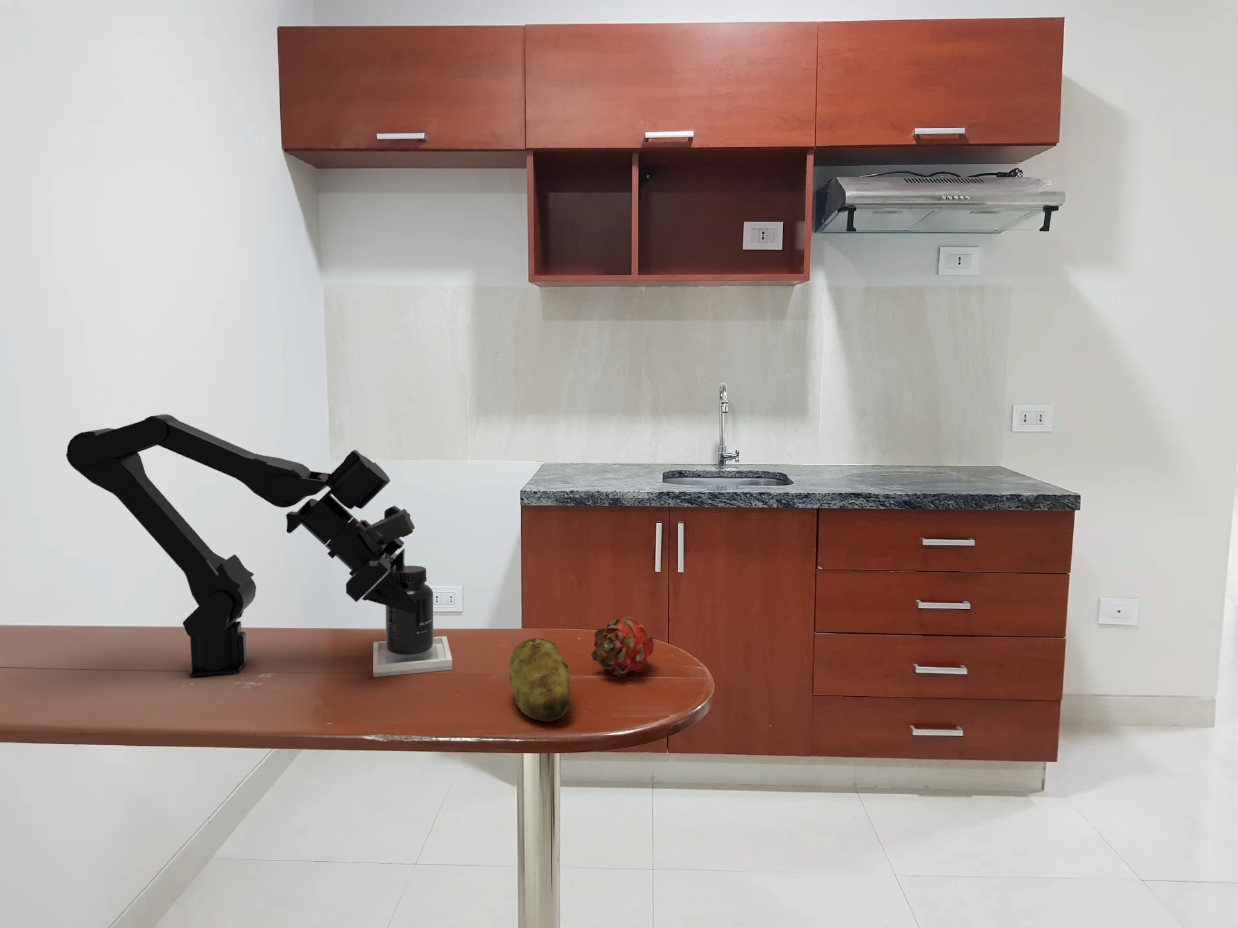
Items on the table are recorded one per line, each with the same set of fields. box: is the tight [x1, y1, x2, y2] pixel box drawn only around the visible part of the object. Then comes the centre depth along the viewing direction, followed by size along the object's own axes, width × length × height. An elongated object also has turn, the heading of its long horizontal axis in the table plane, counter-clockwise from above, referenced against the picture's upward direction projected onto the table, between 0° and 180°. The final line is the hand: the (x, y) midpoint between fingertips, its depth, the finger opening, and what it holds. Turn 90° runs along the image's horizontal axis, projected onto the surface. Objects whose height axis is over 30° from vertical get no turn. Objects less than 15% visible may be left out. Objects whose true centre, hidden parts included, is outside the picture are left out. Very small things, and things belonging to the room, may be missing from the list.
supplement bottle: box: [385, 565, 434, 655], centre depth 124 cm, size 7×7×12 cm
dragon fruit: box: [590, 616, 655, 678], centre depth 121 cm, size 8×8×12 cm
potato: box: [508, 637, 571, 723], centre depth 108 cm, size 8×13×8 cm, turn 1°
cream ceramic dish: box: [372, 636, 453, 678], centre depth 125 cm, size 11×11×2 cm
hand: (418, 604), depth 125 cm, fingers closed on supplement bottle, 7 cm apart
